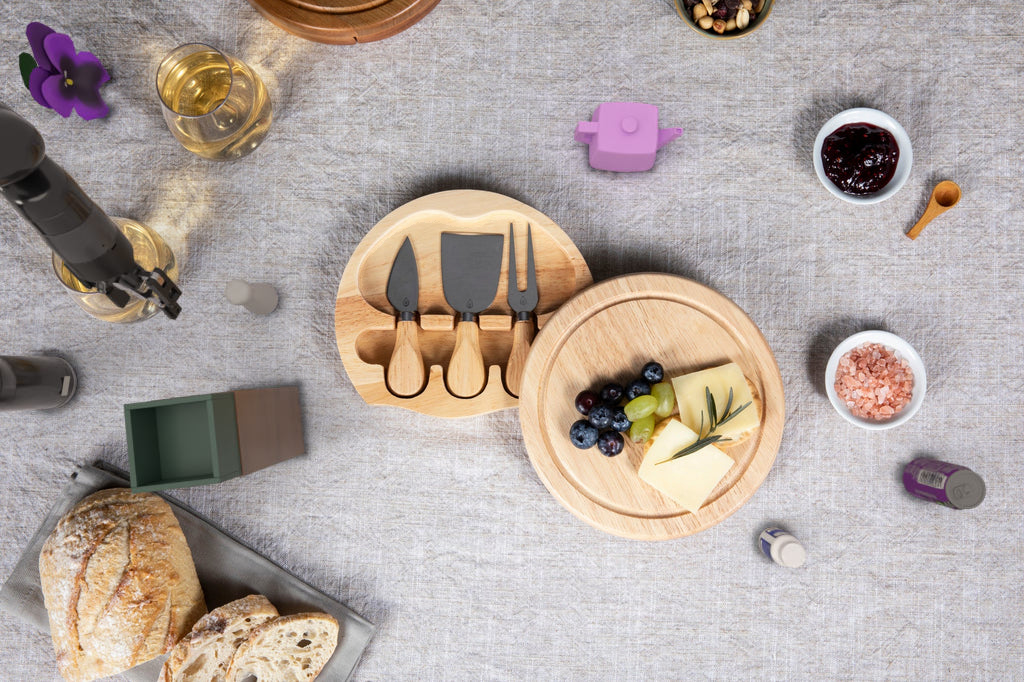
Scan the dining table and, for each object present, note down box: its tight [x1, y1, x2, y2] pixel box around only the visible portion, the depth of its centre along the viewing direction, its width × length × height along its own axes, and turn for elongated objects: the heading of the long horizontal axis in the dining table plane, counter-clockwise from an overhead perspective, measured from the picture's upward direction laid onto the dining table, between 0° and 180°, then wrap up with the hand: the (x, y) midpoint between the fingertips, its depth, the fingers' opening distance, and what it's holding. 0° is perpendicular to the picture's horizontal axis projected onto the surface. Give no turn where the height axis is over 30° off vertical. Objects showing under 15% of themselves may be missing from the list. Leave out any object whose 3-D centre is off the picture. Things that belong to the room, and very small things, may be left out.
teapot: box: [573, 101, 684, 173], centre depth 115 cm, size 18×10×10 cm, turn 87°
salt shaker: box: [223, 278, 279, 316], centre depth 113 cm, size 6×6×13 cm
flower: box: [18, 21, 111, 122], centre depth 117 cm, size 15×15×14 cm
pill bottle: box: [758, 526, 807, 569], centre depth 112 cm, size 5×5×9 cm
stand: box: [151, 385, 306, 478], centre depth 105 cm, size 12×12×26 cm
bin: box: [123, 392, 242, 495], centre depth 89 cm, size 12×12×7 cm
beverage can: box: [902, 457, 987, 511], centre depth 110 cm, size 7×7×12 cm
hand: (150, 308), depth 97 cm, fingers open, 8 cm apart
